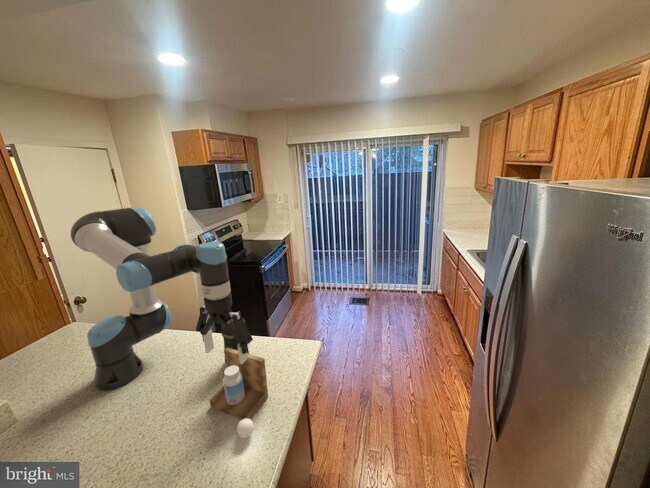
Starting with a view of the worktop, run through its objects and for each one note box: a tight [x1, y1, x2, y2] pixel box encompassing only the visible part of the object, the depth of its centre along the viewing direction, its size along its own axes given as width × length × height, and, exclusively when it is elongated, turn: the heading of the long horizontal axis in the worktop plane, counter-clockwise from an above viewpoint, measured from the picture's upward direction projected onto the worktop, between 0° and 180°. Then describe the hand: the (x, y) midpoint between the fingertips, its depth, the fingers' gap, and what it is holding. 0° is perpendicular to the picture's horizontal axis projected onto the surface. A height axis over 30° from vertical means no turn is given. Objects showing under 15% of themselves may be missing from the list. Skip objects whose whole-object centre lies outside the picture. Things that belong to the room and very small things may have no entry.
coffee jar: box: [220, 317, 250, 364], centre depth 108 cm, size 10×8×19 cm
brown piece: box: [209, 348, 269, 421], centre depth 88 cm, size 16×11×16 cm, turn 67°
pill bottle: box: [222, 365, 245, 405], centre depth 86 cm, size 6×6×11 cm
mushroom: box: [236, 418, 255, 439], centre depth 78 cm, size 5×5×5 cm
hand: (226, 355), depth 82 cm, fingers open, 13 cm apart
